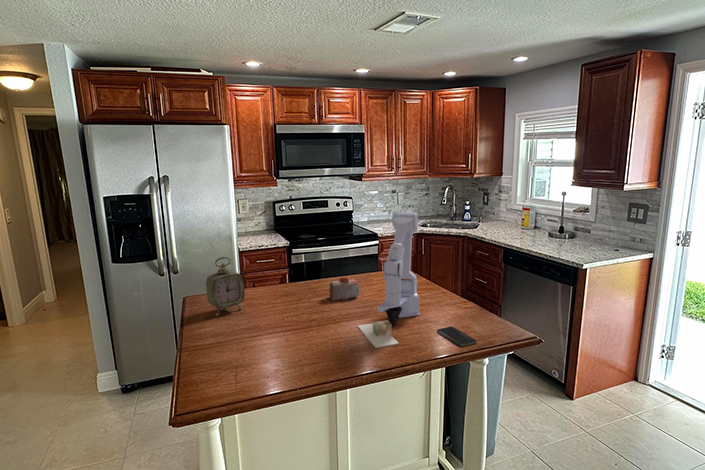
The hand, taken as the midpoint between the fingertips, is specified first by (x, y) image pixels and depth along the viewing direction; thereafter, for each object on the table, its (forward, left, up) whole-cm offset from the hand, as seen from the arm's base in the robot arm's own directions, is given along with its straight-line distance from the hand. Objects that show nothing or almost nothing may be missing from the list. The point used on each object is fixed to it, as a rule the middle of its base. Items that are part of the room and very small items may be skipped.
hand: (392, 325), depth 157 cm
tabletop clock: (+60, -46, -3) cm, 76 cm away
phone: (-21, +12, -3) cm, 24 cm away
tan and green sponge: (+1, 0, 0) cm, 2 cm away
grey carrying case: (+6, -45, -3) cm, 46 cm away
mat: (+6, 0, -3) cm, 7 cm away
